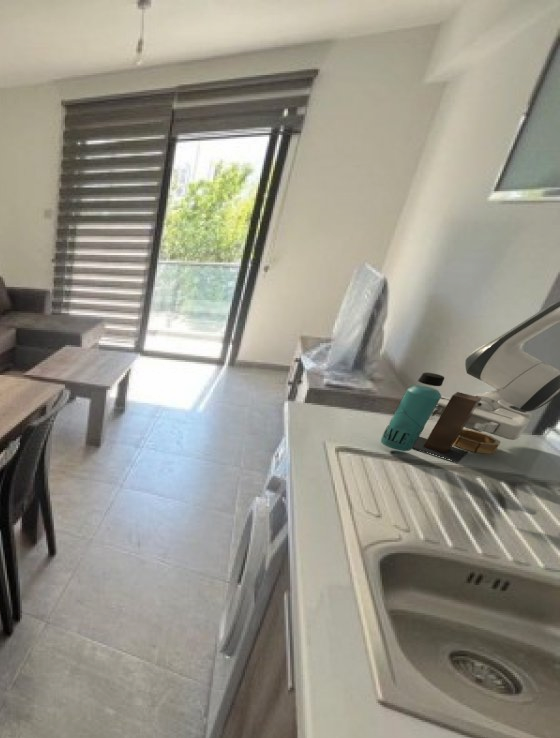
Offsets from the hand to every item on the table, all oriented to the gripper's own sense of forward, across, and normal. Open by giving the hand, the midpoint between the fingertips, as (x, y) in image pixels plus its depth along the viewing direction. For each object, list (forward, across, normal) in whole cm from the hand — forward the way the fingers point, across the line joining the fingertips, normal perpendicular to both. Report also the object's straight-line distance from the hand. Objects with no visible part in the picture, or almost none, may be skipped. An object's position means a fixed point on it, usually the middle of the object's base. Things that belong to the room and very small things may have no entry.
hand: (452, 419), depth 116 cm
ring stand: (-13, +2, +8) cm, 16 cm away
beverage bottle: (+11, -4, +9) cm, 15 cm away
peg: (-1, 0, +8) cm, 8 cm away
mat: (-1, 0, +8) cm, 9 cm away
